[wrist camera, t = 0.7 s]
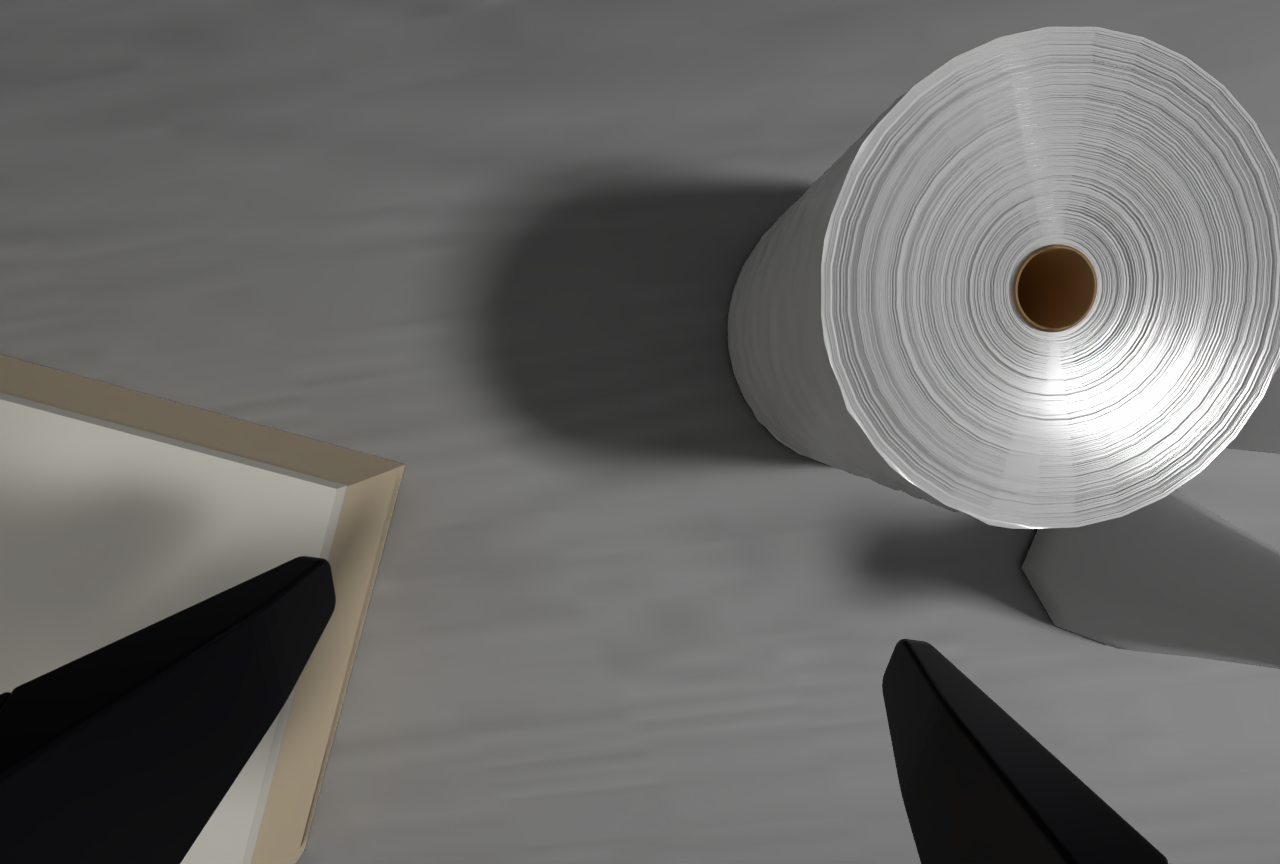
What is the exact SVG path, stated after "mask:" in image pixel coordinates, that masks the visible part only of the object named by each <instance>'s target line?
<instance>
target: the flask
mask: <svg viewBox="0 0 1280 864" xmlns="http://www.w3.org/2000/svg"><path fill="white" fill-rule="evenodd" d="M1022 569H1023V571H1024V573H1025V575H1026V576H1027V578H1028V580H1029V582H1030V583H1031V585H1032V587H1033V588H1034V590H1035V592H1036V594H1037V595H1038V597H1039V599H1040V601H1041V602H1042V604H1043V606H1044V607H1045V609H1046V611H1047V613H1048V614H1049V616H1050V618H1051V620H1052V621H1053V623H1054V625H1055V626H1058V627H1060V628H1063V629H1066V630H1068V631H1071V632H1074V633H1077V634H1079V635H1082V636H1085V637H1087V638H1090V639H1093V640H1096V641H1098V642H1101V643H1104V644H1106V645H1109V646H1112V647H1115V648H1118V649H1126V650H1133V651H1141V652H1151V653H1161V654H1170V655H1180V656H1190V657H1199V658H1206V659H1213V660H1220V661H1227V662H1235V663H1242V664H1249V665H1256V666H1263V667H1270V668H1277V669H1280V551H1279V550H1278V549H1276V548H1274V547H1272V546H1271V545H1269V544H1267V543H1265V542H1264V541H1262V540H1260V539H1258V538H1256V537H1255V536H1253V535H1251V534H1249V533H1248V532H1246V531H1244V530H1242V529H1241V528H1239V527H1237V526H1236V525H1234V524H1233V523H1231V522H1229V521H1228V520H1226V519H1224V518H1223V517H1221V516H1220V515H1218V514H1216V513H1215V512H1213V511H1211V510H1210V509H1208V508H1207V507H1205V506H1203V505H1202V504H1200V503H1198V502H1197V501H1195V500H1194V499H1192V498H1190V497H1188V496H1187V495H1185V494H1183V493H1181V492H1180V491H1178V490H1174V491H1173V492H1171V493H1170V494H1169V495H1167V496H1166V497H1164V498H1162V499H1160V500H1158V501H1155V502H1153V503H1151V504H1149V505H1147V506H1144V507H1142V508H1140V509H1138V510H1136V511H1133V512H1131V513H1129V514H1127V515H1125V516H1122V517H1118V518H1114V519H1110V520H1106V521H1102V522H1098V523H1093V524H1089V525H1085V526H1081V527H1071V528H1045V529H1038V530H1037V533H1036V535H1035V537H1034V540H1033V542H1032V544H1031V547H1030V549H1029V552H1028V554H1027V556H1026V559H1025V561H1024V563H1023V566H1022Z"/></svg>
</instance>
